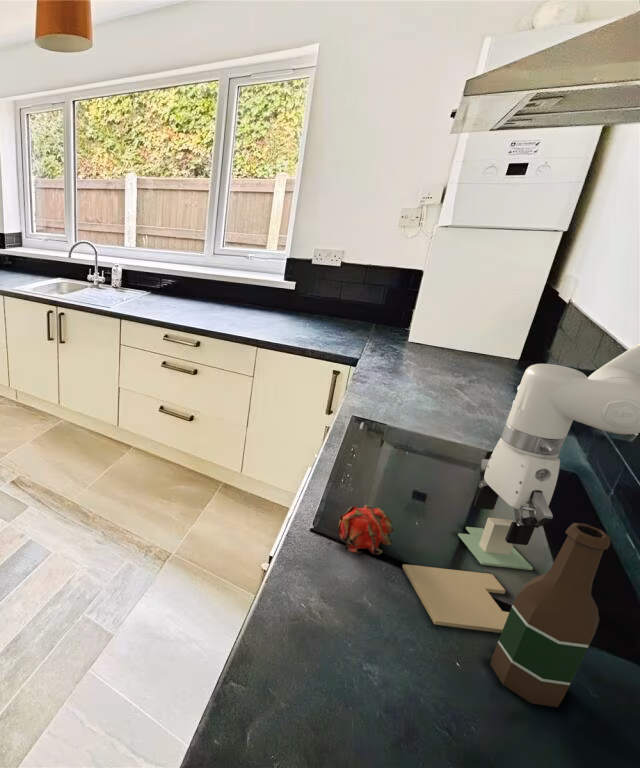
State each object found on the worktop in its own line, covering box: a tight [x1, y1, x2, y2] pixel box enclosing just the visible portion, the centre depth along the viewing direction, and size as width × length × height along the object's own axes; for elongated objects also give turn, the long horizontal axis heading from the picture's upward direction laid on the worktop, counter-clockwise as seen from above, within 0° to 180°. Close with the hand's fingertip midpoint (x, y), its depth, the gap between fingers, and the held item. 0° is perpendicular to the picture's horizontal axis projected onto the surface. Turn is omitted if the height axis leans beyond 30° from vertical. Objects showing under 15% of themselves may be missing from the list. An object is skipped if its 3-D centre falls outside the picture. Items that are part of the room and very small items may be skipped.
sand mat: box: [401, 563, 510, 634], centre depth 72 cm, size 14×12×1 cm
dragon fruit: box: [337, 504, 395, 556], centre depth 83 cm, size 8×8×12 cm
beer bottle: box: [489, 522, 611, 708], centre depth 56 cm, size 8×8×24 cm
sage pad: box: [457, 517, 534, 571], centre depth 83 cm, size 10×8×7 cm
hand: (498, 524), depth 81 cm, fingers open, 9 cm apart
